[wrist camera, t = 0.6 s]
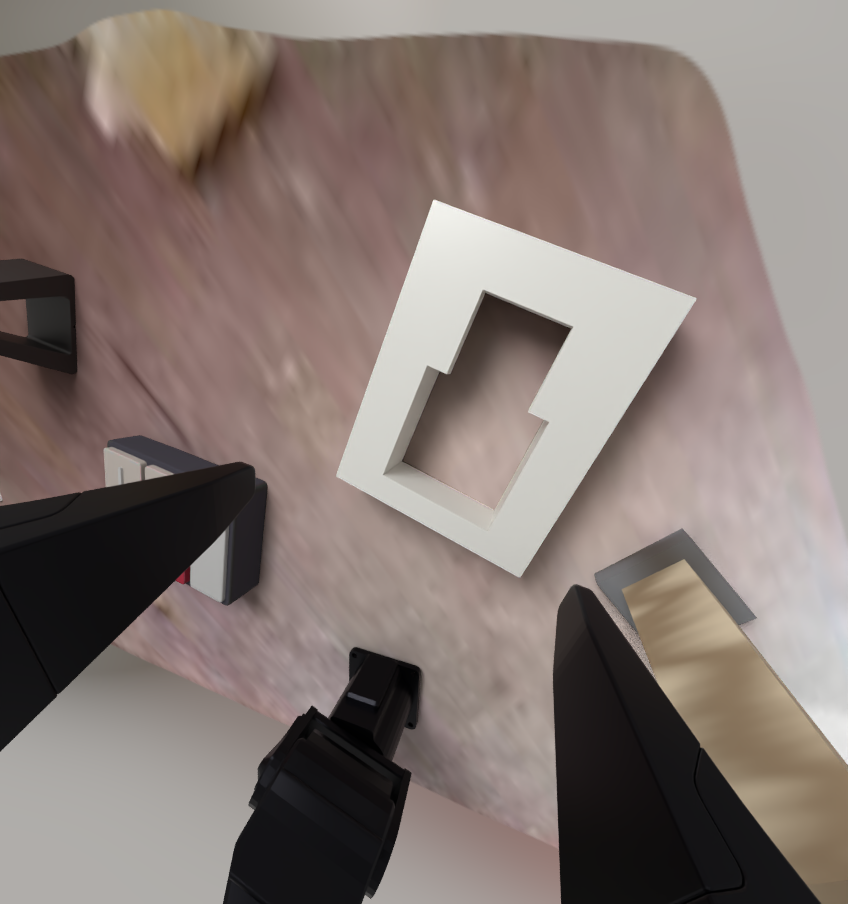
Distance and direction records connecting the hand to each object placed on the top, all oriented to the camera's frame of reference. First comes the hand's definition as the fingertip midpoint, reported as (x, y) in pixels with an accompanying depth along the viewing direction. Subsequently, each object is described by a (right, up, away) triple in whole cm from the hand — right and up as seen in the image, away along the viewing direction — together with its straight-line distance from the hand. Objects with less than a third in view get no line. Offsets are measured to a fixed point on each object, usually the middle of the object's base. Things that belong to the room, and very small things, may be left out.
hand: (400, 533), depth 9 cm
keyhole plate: (+5, +6, +14) cm, 16 cm away
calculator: (-21, -3, +25) cm, 33 cm away
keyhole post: (+16, -7, +13) cm, 22 cm away
